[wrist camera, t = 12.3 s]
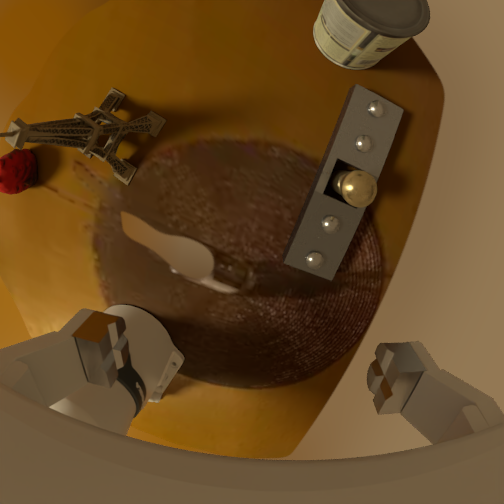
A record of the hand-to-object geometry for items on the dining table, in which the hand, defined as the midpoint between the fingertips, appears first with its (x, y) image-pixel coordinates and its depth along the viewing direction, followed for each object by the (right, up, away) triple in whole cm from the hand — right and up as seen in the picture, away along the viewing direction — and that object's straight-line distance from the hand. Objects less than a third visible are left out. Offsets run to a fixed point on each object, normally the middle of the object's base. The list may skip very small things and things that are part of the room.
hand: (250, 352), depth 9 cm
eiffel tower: (-19, +20, +27) cm, 38 cm away
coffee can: (+13, +32, +22) cm, 41 cm away
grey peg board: (+12, +12, +28) cm, 33 cm away
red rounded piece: (-38, +17, +29) cm, 51 cm away
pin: (+12, +12, +28) cm, 33 cm away
